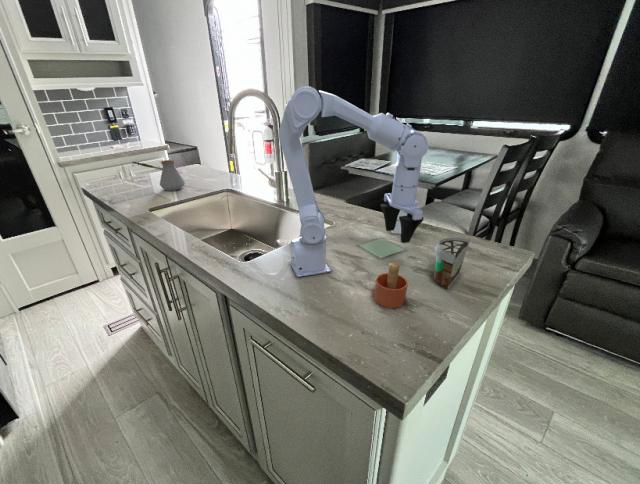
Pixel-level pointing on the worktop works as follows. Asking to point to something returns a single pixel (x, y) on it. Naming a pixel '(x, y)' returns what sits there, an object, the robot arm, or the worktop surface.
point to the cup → (390, 292)
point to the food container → (449, 260)
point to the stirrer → (393, 275)
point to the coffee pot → (168, 175)
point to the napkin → (381, 248)
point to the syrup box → (398, 223)
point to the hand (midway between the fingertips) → (397, 235)
